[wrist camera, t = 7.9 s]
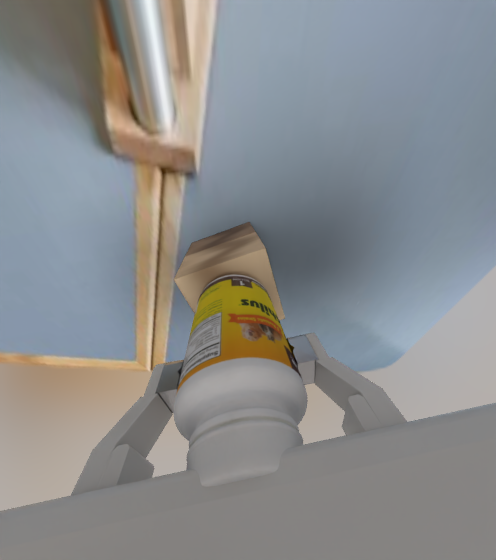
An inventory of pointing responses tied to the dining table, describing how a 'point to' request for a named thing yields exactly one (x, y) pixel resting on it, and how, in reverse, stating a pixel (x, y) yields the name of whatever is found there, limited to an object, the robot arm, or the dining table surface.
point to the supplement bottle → (238, 385)
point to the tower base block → (220, 238)
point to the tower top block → (227, 268)
